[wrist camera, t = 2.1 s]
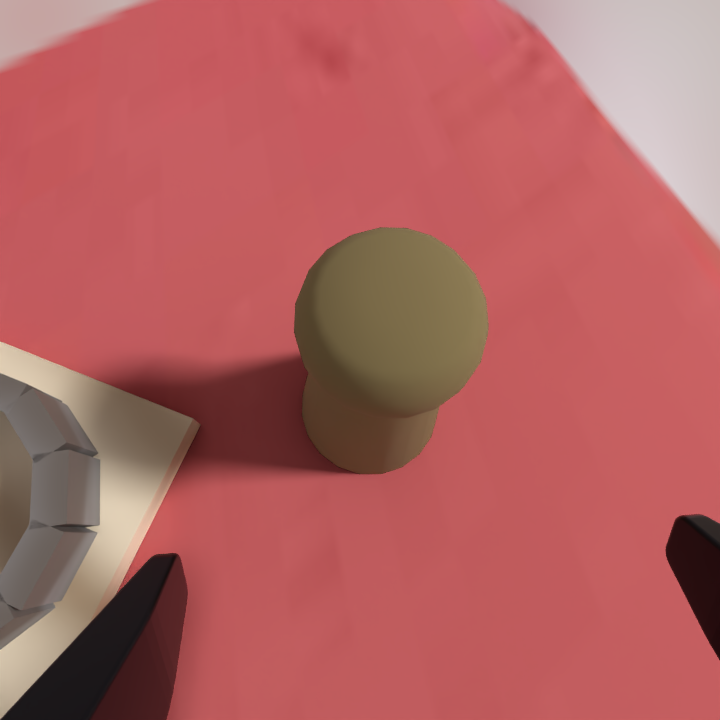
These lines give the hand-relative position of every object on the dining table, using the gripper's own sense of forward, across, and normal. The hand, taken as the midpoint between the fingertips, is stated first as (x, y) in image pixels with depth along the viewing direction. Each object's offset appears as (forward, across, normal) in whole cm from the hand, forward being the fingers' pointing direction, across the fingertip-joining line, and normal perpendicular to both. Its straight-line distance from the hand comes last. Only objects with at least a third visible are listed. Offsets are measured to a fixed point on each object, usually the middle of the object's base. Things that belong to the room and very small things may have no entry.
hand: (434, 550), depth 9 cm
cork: (+13, 0, +5) cm, 14 cm away
